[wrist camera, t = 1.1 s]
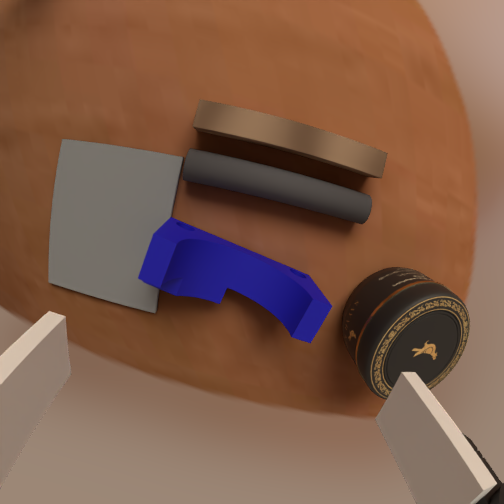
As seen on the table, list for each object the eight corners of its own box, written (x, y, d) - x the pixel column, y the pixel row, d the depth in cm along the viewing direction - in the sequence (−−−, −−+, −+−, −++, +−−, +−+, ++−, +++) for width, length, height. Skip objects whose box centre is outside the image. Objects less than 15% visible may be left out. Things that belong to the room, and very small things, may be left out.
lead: (189, 168, 23) (181, 186, 21) (192, 142, 21) (184, 159, 20) (355, 210, 25) (360, 230, 23) (368, 188, 23) (374, 208, 21)
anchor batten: (197, 131, 22) (192, 126, 19) (203, 106, 21) (199, 99, 19) (368, 177, 23) (381, 178, 21) (373, 154, 23) (387, 153, 20)
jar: (339, 263, 25) (376, 300, 18) (433, 257, 25) (484, 284, 18) (331, 362, 28) (355, 414, 20) (417, 347, 28) (454, 388, 21)
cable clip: (151, 268, 24) (131, 299, 18) (170, 217, 23) (153, 233, 17) (284, 320, 26) (300, 360, 20) (308, 275, 25) (332, 306, 19)
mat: (51, 280, 24) (48, 282, 24) (65, 139, 21) (62, 138, 20) (156, 310, 25) (155, 313, 25) (184, 157, 22) (183, 157, 22)
